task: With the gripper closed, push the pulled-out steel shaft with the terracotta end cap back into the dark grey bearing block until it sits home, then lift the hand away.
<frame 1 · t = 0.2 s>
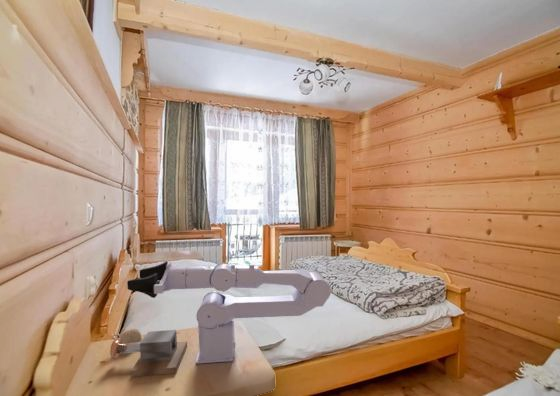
hand: (134, 279, 78), 22 cm above the nightstand, tool horizontal, fingers open, 7 cm apart
housing: (162, 360, 78), on the nightstand
shaft: (136, 347, 78), point 4 cm above the nightstand, slide at 5.0 cm
cream ribbed curved piece: (128, 348, 85), on the nightstand
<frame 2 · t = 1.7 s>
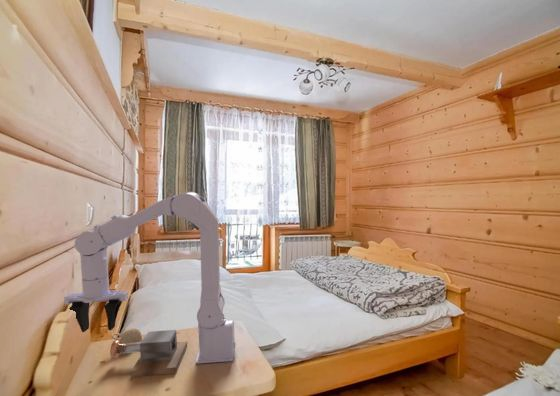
hand: (98, 329, 77), 9 cm above the nightstand, tool pointing down, fingers open, 6 cm apart
nothing on the nightstand moved.
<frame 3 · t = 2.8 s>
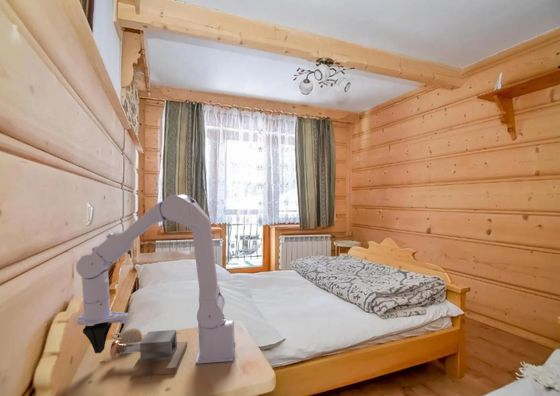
hand: (99, 351, 77), 4 cm above the nightstand, tool pointing down, fingers closed
nothing on the nightstand moved.
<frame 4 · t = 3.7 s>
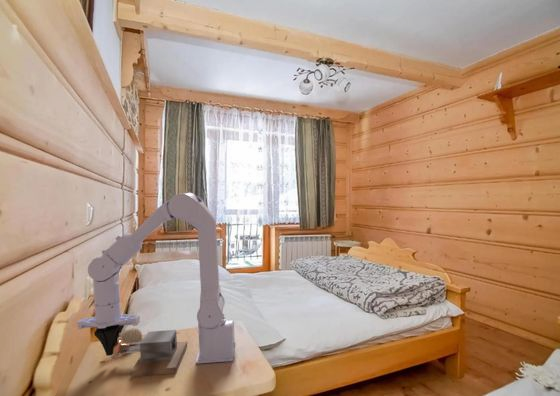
hand: (110, 353, 77), 3 cm above the nightstand, tool pointing down, fingers closed
shaft: (138, 347, 78), point 4 cm above the nightstand, slide at 4.3 cm, touching gripper
everything else where it was.
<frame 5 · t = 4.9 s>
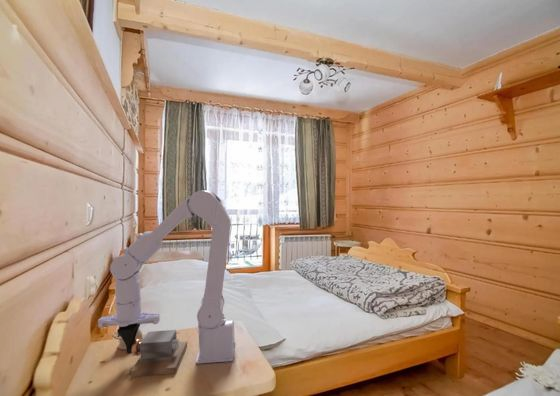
hand: (131, 351, 78), 3 cm above the nightstand, tool pointing down, fingers closed
shaft: (156, 345, 78), point 4 cm above the nightstand, slide at -0.1 cm, touching gripper
everything else where it was.
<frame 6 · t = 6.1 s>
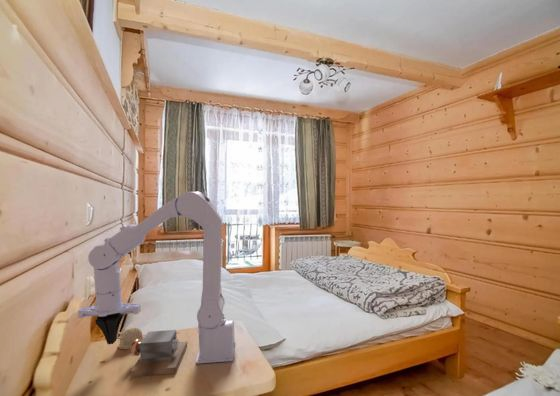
hand: (112, 342, 77), 6 cm above the nightstand, tool pointing down, fingers closed
shaft: (156, 345, 78), point 4 cm above the nightstand, slide at 0.0 cm
everything else where it was.
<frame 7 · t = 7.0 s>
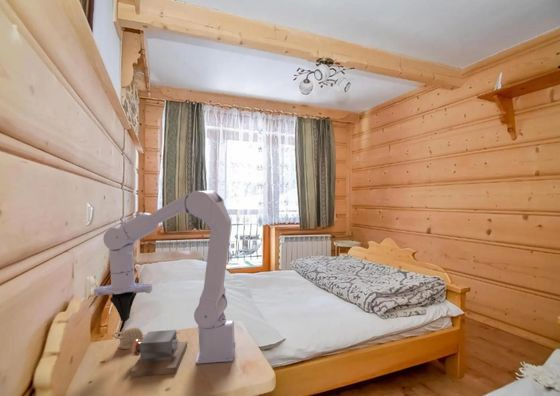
hand: (125, 319, 82), 9 cm above the nightstand, tool pointing down, fingers closed
nothing on the nightstand moved.
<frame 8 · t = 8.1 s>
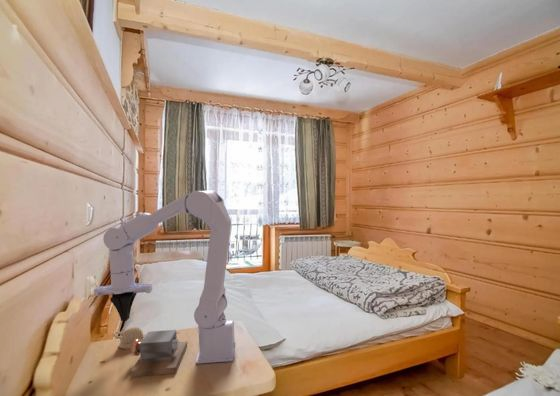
hand: (125, 319, 82), 9 cm above the nightstand, tool pointing down, fingers closed
at the end: shaft slide at 0.0 cm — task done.
